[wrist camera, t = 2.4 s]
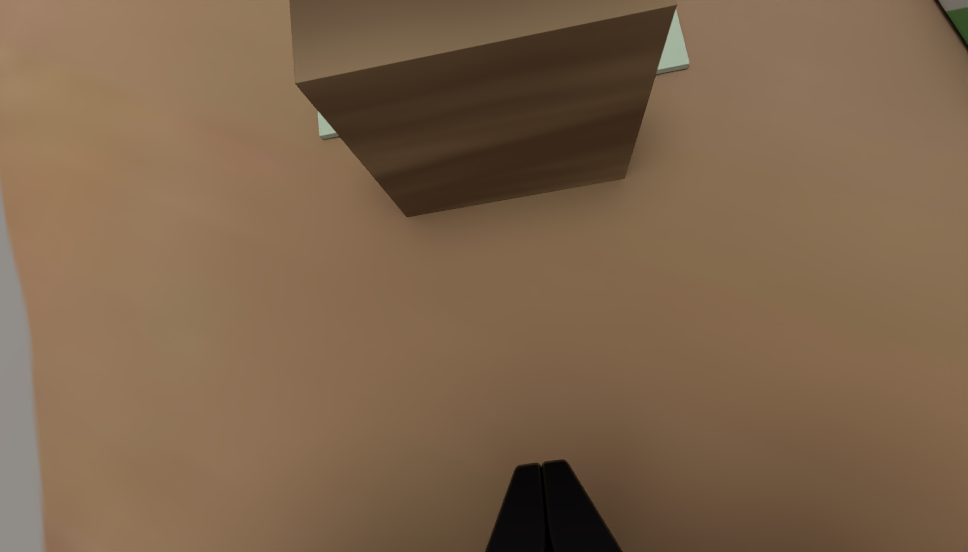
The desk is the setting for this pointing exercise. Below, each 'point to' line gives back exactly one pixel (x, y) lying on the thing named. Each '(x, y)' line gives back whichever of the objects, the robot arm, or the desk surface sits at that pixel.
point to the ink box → (957, 14)
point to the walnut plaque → (481, 91)
